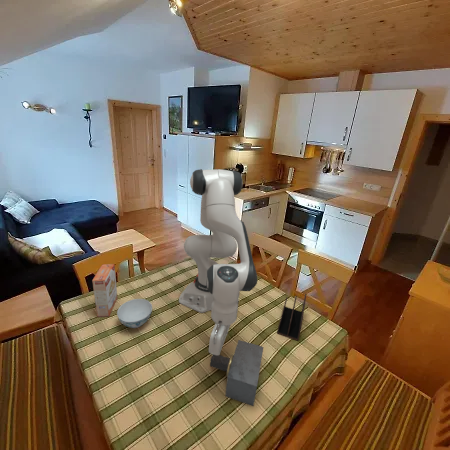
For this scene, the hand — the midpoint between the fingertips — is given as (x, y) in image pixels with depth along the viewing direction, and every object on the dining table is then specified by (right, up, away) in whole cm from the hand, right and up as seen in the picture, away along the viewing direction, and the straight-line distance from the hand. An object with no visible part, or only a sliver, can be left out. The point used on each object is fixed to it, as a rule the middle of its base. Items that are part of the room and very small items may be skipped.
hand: (221, 342), depth 85 cm
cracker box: (-58, +1, +33) cm, 67 cm away
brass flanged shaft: (+3, -13, +4) cm, 15 cm away
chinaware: (-40, -3, +25) cm, 48 cm away
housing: (+8, -16, +4) cm, 18 cm away
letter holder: (+34, -7, +32) cm, 47 cm away
